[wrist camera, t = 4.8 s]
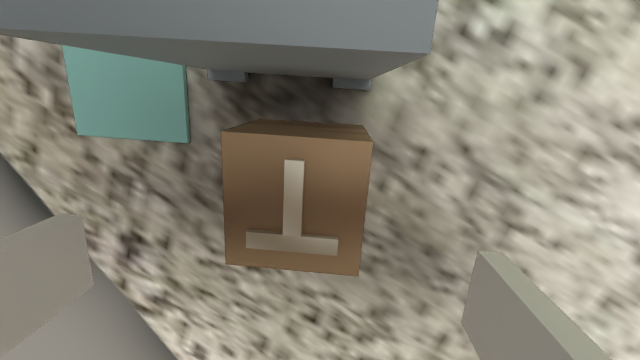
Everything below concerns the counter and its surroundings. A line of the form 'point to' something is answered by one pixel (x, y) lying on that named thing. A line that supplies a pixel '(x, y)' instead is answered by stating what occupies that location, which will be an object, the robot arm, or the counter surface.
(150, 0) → the screen
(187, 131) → the mat
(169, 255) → the counter surface
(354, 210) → the cube
